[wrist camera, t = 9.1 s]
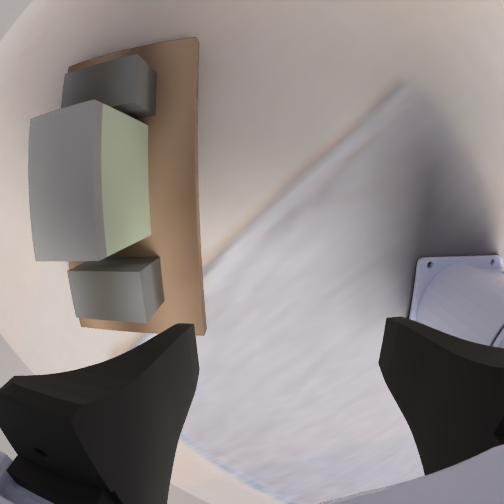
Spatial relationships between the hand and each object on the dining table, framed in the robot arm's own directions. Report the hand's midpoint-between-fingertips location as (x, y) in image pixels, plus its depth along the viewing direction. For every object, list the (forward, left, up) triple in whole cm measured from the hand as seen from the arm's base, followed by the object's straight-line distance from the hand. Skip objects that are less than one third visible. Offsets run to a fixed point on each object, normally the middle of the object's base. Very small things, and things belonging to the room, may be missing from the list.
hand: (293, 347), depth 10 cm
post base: (+10, -6, -9) cm, 15 cm away
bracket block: (+10, -6, -8) cm, 15 cm away
